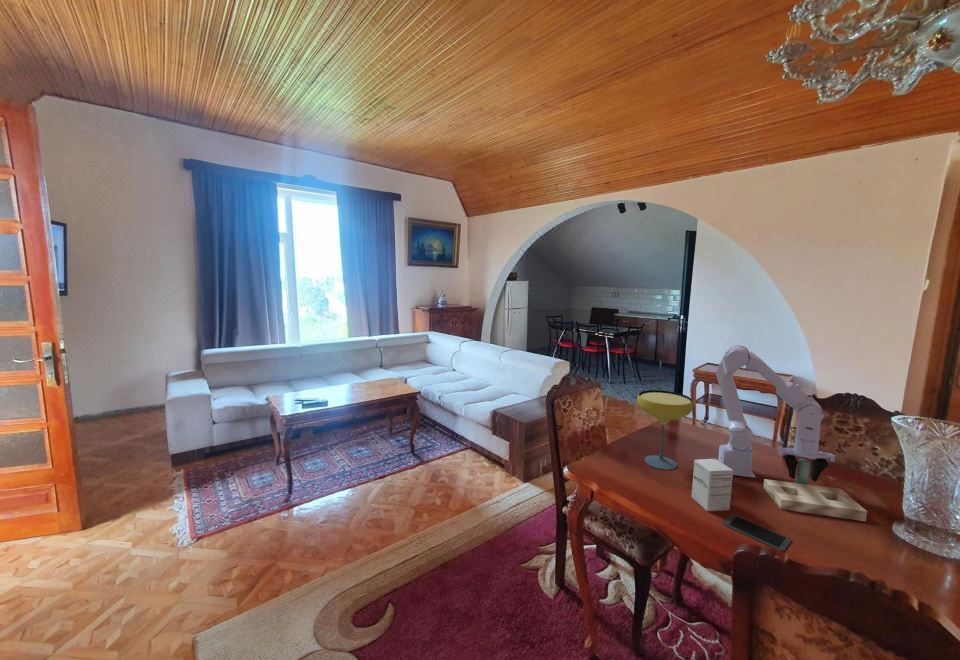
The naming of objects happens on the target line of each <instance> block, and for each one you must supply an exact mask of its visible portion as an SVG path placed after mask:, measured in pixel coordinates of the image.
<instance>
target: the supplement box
mask: <svg viewBox="0 0 960 660" xmlns="http://www.w3.org/2000/svg"><path fill="white" fill-rule="evenodd" d="M692 474H693V477H692V486H691V487H692V488H691V499H693V501H695V502H697V503H698V504H699V505H700V506H701V507H702V508H703V509H704V510H705V511H706V512H717V511H718V512H719V511H730V508H731V507H730V506H731V497H732V496H731V495H732V490H733V489H732V487H733V477H734V475H733V470H732V469H730V468H729V467H727V466H726V465H724V464H723V463H721V462H720V461H718V459H717V458H706V459H705V458H702V459H701V458H700V459H694V462H693V473H692Z"/></svg>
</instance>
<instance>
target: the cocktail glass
mask: <svg viewBox="0 0 960 660" xmlns="http://www.w3.org/2000/svg"><path fill="white" fill-rule="evenodd" d="M636 400H637V401H636V402H637V405H638V407H639V408H640V409H641V410H642V411H643V412H645V413H646V414H648V415H650V416H651V417H654V418H655V419H657V421H658V422H659V423H660V424H661V438H660V447H659V448H660V449H659V450H660V451H659V455H656V454H653V455H647V456H646V457H645V458H644V461H645V463H646V464H647V465H648V466H650V467H652V468H654V467H655V469H657V468H658V470H662V469H663V470H665V471H671V469H672V470H675V469H677V468H678V464H677V462H676V461H674V460H673V459H672V458H670V457H666V456H664V453H663V452H664V451H663V450H664V431H665V425H667V424H668V422H670V421H673V420H676V419H681V418H684V417H686V416H689V415H690V414H691V413H692V412H693V409H694V400H693V399H692V398H691V397H690V396H688V395H685V394H683V393H678V392H676V391H669V390H659V389H650V390H643V391H640V392H638V395H637V398H636ZM669 458H670V459H669ZM663 470H662V471H663Z"/></svg>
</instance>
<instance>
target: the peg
mask: <svg viewBox="0 0 960 660" xmlns="http://www.w3.org/2000/svg"><path fill="white" fill-rule="evenodd" d="M797 461H798V464H797V467H796V470H797V471H796V476H795V483H799V484H807V485H809V481H810V479H809V478H810V474H811V460H808V459H807V458H798V459H797Z"/></svg>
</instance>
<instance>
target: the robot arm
mask: <svg viewBox="0 0 960 660" xmlns="http://www.w3.org/2000/svg"><path fill="white" fill-rule="evenodd" d="M743 367H745V369H746V370H751V371H755V372H757V374H759V375H760V376H761V377H763V378H764V379H765V380H766V381H767V382H769V383H770V384H771V385H772V386H773V387H774V388H776V389H775V391H776V392H775V393H776V395H777V396H778V397H779V398H780V399H782V400H783V401H784V402H785V403H786V404H788V406H790V407H791V409H793V410H796V411H797V412H798V420H797V422H796V429H795V438H794V439H795V440H794V445H793V447H777V449H776V454H777V455H778V456H780V457H783V459H784V461H785V463H786V464H785V465H786V466H787V472H788V477H789V478H791V479H793V480H796V473H797V471H796V470H797V468H798V459H797V458H803V459H807V460H808V459H809V460H810V462H811V464H810V474H809V478H810V479H811V480H812V481H813V482H815V483H816V482H817V481H818V479H819V477H820V475H821V473H823V471H825V469H826V468H827V467H829V462H828V461H830V462H835V460H836V455H834V454H833V453H831V452H826V451H825V452H824V451H819V443H820V436H821V423H822V421H823V419H824V417H825V415H824V412H823V409H822V406H821V405H820V404H819V402H818V401H816V400H815V399H814V398H813V397H812V396H809V395H807V394H806V393H805V392H804V391H803V390H802V389H801V386H800V385H799V384H798V383H797V384H795V383H794V382H792V381H785V380H784V379H783V378H782V377H780V376H779V375H778V374H777V373H776V372H775V370H773V369H772V368H771V367H770V366H769V365H768V364H767V363H766V362H765V361H764V360H763V359H761V358H760V356H758V355H756V353H754V352H752V351H750V350H749V349H748V348H747V347H746V346H744V345H740V344H739V345H737V344H736V345H733V346H731V347H730V348H729V349H728V350H727V351H726V352H725V353H724V355H723V356H722V358H721V360H720V363H719V365H718V366H717V368H716V371H715V374H716V379H717V383H718V387H719V389H720V393H721V397H722V400H723V405H724V408H725V412H726V416H727V420H728V426H729V432H730V433H729V434H730V436H729V439H728V442H727V444H720V445H719V447H718V459H717V460H718V461H720V462H721V463H723V464H724V465H726V466H727V467H729V468H730V469H732V470H733V476H736V477H737V476H738V477H746V478H752V479H753V478H756V476H757V475H755V474H754V472H753V471H752V463H753V455H754V453H753V451H754V447H753V446H752V445H753V442H752V441H753V436H754V434H753V431H752V429H751V428H750V427H749V425H748V424H747V420H746V418H745V416H744V411H743V408H742V405H741V401H740V398H739V397H740V396H739V393H738V390H737V386H736V382H735V378H734V374H735V373H736V372H737V371H738V370H739V369H741V368H743Z"/></svg>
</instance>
